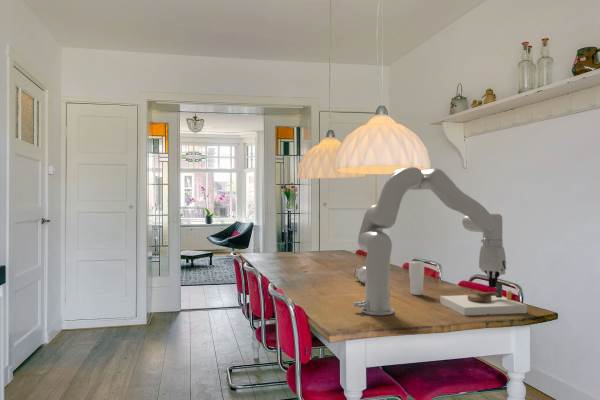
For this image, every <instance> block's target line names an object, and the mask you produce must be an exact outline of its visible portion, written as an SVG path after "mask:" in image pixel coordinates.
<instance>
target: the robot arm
mask: <svg viewBox="0 0 600 400" xmlns="http://www.w3.org/2000/svg"><path fill="white" fill-rule="evenodd" d="M409 190H415V191H416V190H430V191H431V192H432V193H433V195H435V196H436V197H437V198H438V199H439V200H440V201H441V202H442V203H443V204H444V205H445V206H446V207H447V208H448V209H451V210H453V211H456V212H458V213H460V214H462V215H464V217H463V219H462V221H461V223H462V226H463V228H464V229H466V230H467V231H469V232H476V233H481V234H482V239H481V241H480V242H481V243H482V245H481V246H480V250H479V256H478V257H479V258H478V259H479V260H478V267H479V269H480V270H481V272H483V273H485V274H486V277H487V278H488V288H492V289H493V288H495V289H496V282H498V279H499V277H500V276H503V275H505V274H506V270H507V257H506V251H505V248H504V246H503V243H504V242H503V216H502V214H500V213H490V212H489V211H488V210H487V208H485V206H483V205H482V204H481V203H480V202H479V201H477V200H475V199H474V198H473V197H471V196H470V195H468V194H466V193H464V191H462V190H461V189H460V188H459V187H458V186H457V184H456V183H454V182H453V180H452V179H451V178H450V177H449V176H448V175H447V174H446V173H445V172H444V171H443V170H442V169H440V168H437V167H435V168H427V169H420V168H418V167H415V166H410V167H405V168H404V167H403V168H398V169H395V170H394V171H393V172H392V174H391V175H390V177H389V178H388V179H387V180H386V182H385V184H384V185H383V187H382V189H381V192H380V195H379V198H378V201H377V203H375V204H373V205H371V206H369V207H368V209H366V211H365V213H364V216H363V219H362V221H361V222H362V223H361V225H360V229H359V232H358V237H357V242H358V247H359V248H360V249H361V251H363V252H364V253H366V259H365V265H364V266H365V284H364V285H365V288H364V289H365V292H364V293H365V294H364V296H365V298H362V300H360V301H353V304H352V305H353V308H358V309H359V308H360V309H361V313H363V314H366V315H368V316H369V315H370V316H390V315H392V314H394V313H395V310H394V308H393V307H392V306H390V305H391V301H390V300H391V296H390V295H391V289H390V288H391V256H392V250H393V242H392V240H391V237H390V235H388V234H387V233H385V232H383V231H384V229H391V228H392V227H394V225H395V224H396V221H397V217H398V214H399V210H400V206H401V204H402V200H403V197H404V196H405V194H406V193H407V192H408V191H409Z"/></svg>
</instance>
